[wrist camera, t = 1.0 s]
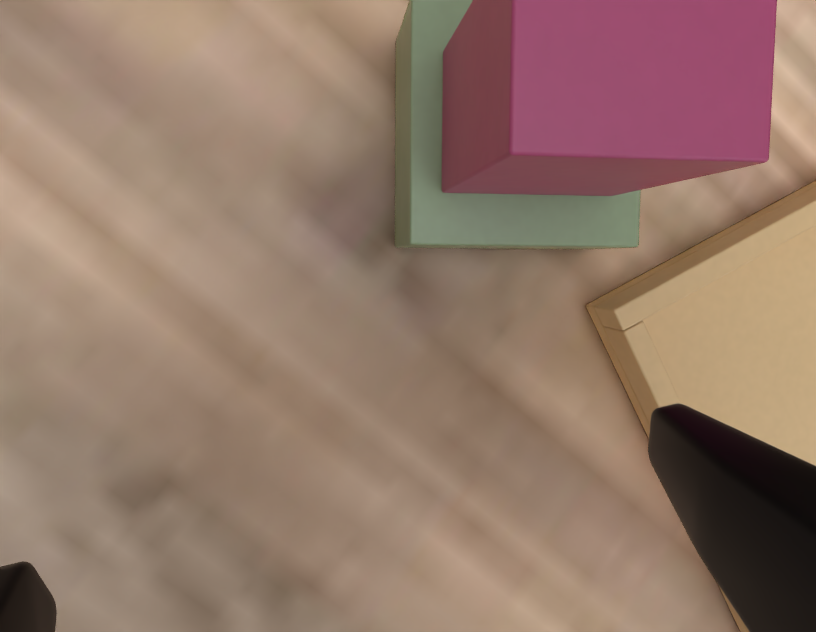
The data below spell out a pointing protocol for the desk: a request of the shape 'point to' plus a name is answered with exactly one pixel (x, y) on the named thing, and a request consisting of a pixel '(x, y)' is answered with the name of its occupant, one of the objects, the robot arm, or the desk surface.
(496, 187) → the mulberry block
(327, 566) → the desk surface
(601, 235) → the sage block
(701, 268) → the tray
